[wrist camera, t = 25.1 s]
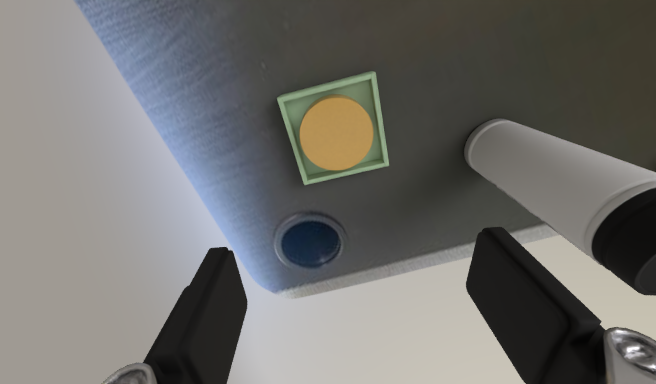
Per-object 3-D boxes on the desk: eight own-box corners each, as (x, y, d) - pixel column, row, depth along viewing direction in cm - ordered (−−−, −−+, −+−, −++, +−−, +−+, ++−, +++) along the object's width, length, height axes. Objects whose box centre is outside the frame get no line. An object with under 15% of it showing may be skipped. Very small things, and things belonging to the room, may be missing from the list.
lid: (298, 158, 31) (296, 167, 28) (302, 89, 27) (301, 93, 25) (363, 164, 31) (366, 173, 29) (375, 98, 28) (380, 102, 26)
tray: (305, 178, 32) (304, 185, 31) (279, 95, 28) (276, 98, 26) (385, 159, 32) (389, 165, 30) (371, 70, 27) (375, 72, 25)
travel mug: (520, 108, 29) (831, 194, 11) (516, 163, 32) (757, 299, 14) (462, 123, 30) (672, 225, 12) (463, 175, 33) (632, 320, 15)
